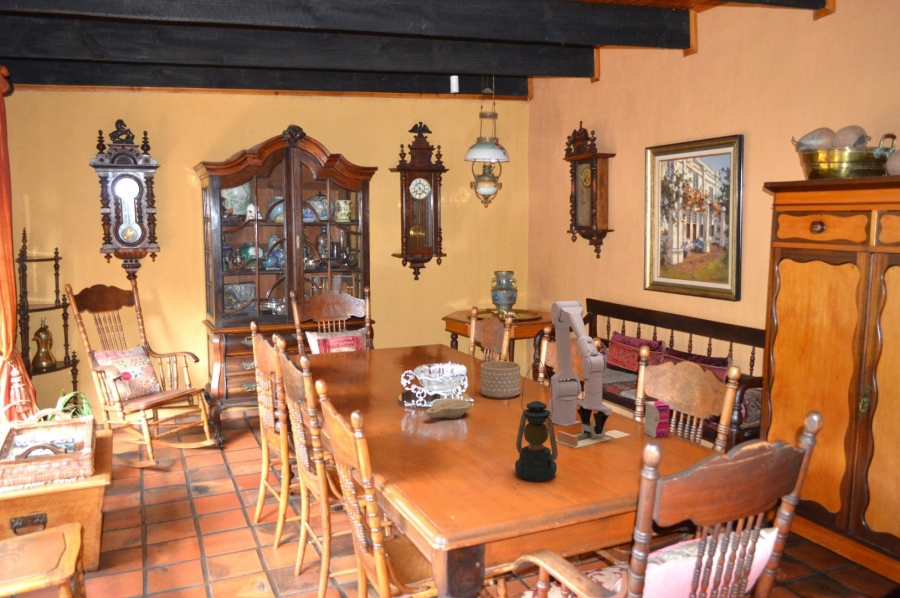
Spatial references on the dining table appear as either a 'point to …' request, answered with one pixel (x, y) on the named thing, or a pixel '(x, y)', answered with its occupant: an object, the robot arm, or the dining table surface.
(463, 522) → the dining table surface
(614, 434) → the pad
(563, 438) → the rail board
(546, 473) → the lantern
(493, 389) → the planter
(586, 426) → the clip
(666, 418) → the supplement box
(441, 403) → the oil lamp
